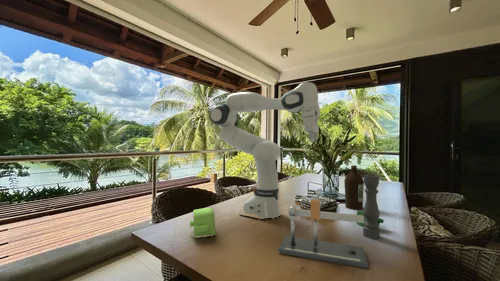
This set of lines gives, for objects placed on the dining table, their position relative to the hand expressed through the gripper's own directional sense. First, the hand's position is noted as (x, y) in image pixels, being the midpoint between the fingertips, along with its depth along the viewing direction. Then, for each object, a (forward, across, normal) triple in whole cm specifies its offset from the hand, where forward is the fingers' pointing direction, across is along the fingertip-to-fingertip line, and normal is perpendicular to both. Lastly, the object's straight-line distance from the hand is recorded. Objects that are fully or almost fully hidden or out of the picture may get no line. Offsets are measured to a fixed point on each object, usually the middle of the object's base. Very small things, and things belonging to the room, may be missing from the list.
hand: (313, 141), depth 114 cm
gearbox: (+34, +36, -45) cm, 67 cm away
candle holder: (+42, +10, +20) cm, 47 cm away
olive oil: (+42, -33, +14) cm, 55 cm away
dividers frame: (+38, +31, +4) cm, 49 cm away
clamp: (+42, -2, +20) cm, 47 cm away
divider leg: (+37, +33, +1) cm, 50 cm away
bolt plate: (+39, +33, +3) cm, 51 cm away
